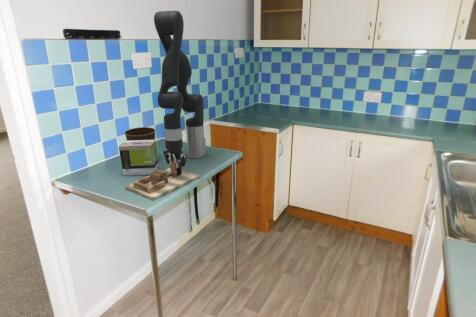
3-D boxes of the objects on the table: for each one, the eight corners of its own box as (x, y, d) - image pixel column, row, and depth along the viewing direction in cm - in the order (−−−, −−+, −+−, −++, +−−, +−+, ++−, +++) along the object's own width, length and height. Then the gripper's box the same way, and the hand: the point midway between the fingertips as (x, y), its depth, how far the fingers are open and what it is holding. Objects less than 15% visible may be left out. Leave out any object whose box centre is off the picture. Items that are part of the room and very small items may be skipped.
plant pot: (149, 166, 159) (146, 136, 153) (123, 164, 162) (118, 134, 156) (163, 156, 172) (160, 128, 167) (138, 154, 176) (134, 126, 170)
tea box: (159, 167, 158) (156, 138, 153) (155, 175, 149) (151, 145, 144) (128, 167, 158) (124, 139, 153) (122, 176, 149) (118, 146, 143)
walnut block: (174, 172, 148) (173, 158, 146) (182, 175, 146) (181, 160, 143) (151, 184, 137) (149, 169, 135) (159, 186, 135) (158, 171, 132)
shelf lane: (172, 168, 156) (172, 161, 155) (199, 177, 146) (199, 170, 145) (125, 188, 136) (124, 181, 135) (153, 200, 126) (152, 192, 125)
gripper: (191, 138, 139) (193, 174, 145) (169, 133, 147) (172, 167, 153) (178, 142, 133) (181, 180, 139) (156, 137, 141) (159, 172, 147)
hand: (176, 173), depth 146 cm, fingers closed on walnut block, 3 cm apart
